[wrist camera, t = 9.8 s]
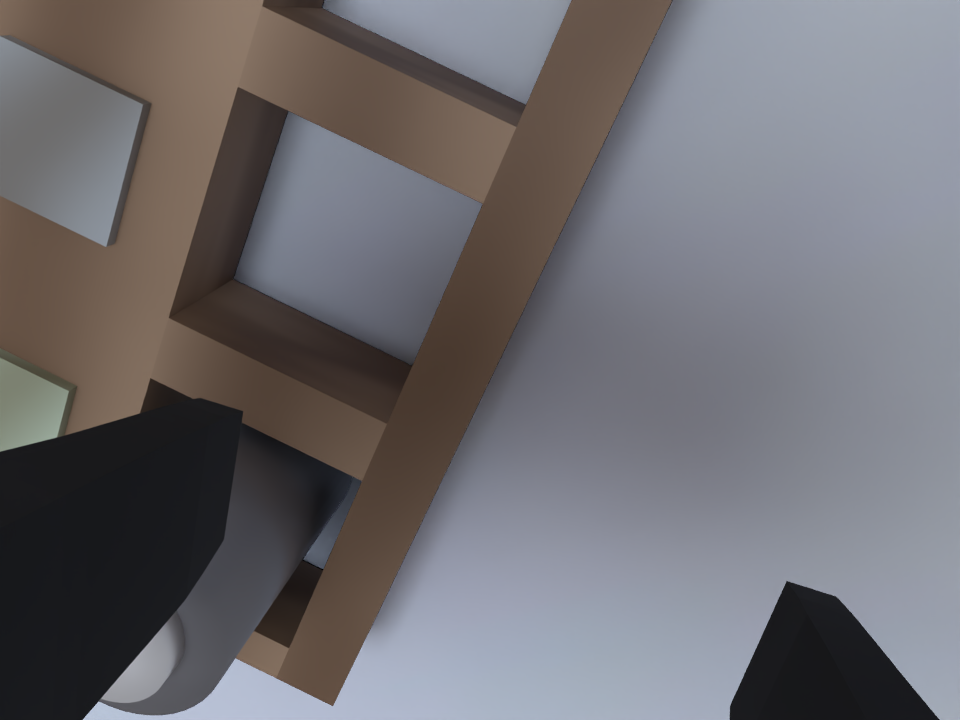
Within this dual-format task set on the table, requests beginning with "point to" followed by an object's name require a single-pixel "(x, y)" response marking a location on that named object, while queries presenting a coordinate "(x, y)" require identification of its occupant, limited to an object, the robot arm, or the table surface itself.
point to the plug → (235, 575)
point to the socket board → (224, 228)
